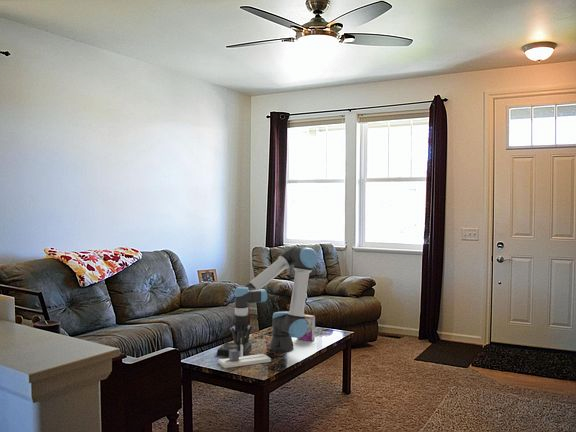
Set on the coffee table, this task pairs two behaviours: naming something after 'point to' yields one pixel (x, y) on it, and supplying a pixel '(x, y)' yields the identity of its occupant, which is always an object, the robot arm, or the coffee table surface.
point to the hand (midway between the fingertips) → (240, 356)
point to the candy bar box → (309, 329)
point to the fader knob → (233, 355)
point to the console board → (245, 360)
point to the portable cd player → (229, 346)
